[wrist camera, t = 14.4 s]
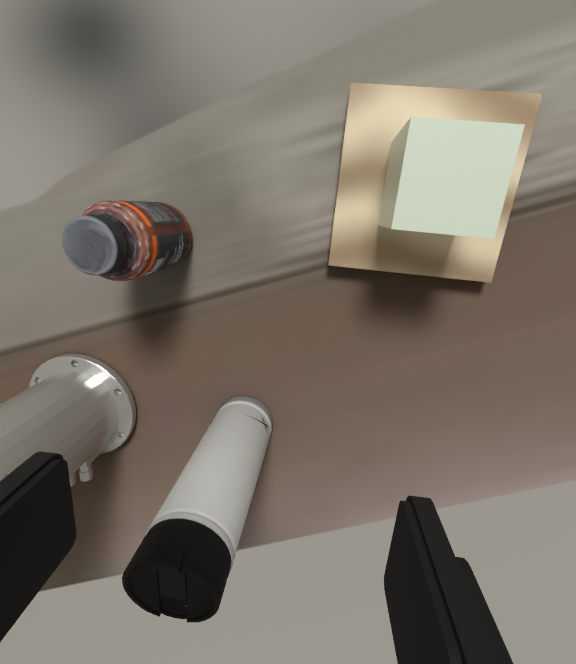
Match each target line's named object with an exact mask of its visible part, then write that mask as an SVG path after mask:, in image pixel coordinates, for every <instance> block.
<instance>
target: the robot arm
mask: <svg viewBox="0 0 576 664" xmlns="http://www.w3.org/2000/svg"><path fill="white" fill-rule="evenodd" d="M135 422H136V406H135V402H134V398H133V396H132V394H131V391H130V389H129V388H128V386H127V385H126V383H125V382H124V380H123V379H122V378H121V377H120V376H119V375H118V374H117V373H116V372H115V371H114V370H113V369H112V368H110V367H109V366H108V365H106V364H105V363H103V362H101V361H99V360H97V359H95V358H92V357H89V356H86V355H81V354H64V355H59V356H56V357H54V358H52V359H50V360H48V361H46V362H45V363H43V364H42V365H40V366H39V368H38V369H37V370H36V371H35V372H34V374H33V376H32V378H31V381H30V385H29V388H28V389H26V390H24V391H22V392H21V393H19V394H17V395H15V396H14V397H12V398H10V399H8V400H7V401H5V402H3V403H1V404H0V642H1V640H2V639H3V637H4V636H5V635H6V634H7V632H8V631H9V630H10V628H11V627H12V626H13V625H14V623H15V622H16V620H17V619H18V618H19V617H20V615H21V614H22V613H23V611H24V610H25V609H26V607H27V606H28V605H29V603H30V602H31V601H32V600H33V598H34V597H35V596H36V594H37V593H38V592H39V590H40V589H41V588H42V586H43V585H44V584H45V582H46V581H47V580H48V578H49V577H50V576H51V575H52V573H53V572H54V571H55V569H56V568H57V567H58V565H59V564H60V563H61V561H62V560H63V559H64V557H65V556H66V555H67V553H68V552H69V551H70V549H71V548H72V546H73V544H74V542H75V539H76V526H75V518H74V510H73V502H72V494H71V486H73V485H74V484H75V483H76V482H77V477H76V470H77V469H78V468H79V475H80V480H81V481H82V482H86V481H89V480H91V479H92V478H93V468H92V465H91V463H92V462H93V461H94V460H95V459H96V457H97V456H98V455H99V454H102V453H107V452H110V451H113V450H115V449H116V448H118V447H119V446H121V445H122V444H123V443H124V442H125V441H126V440H127V438H128V437H129V436H130V434H131V433H132V431H133V428H134V426H135ZM384 589H385V595H386V601H387V606H388V612H389V617H390V623H391V628H392V634H393V640H394V645H395V651H396V656H397V661H398V664H513V662H512V660H511V657H510V655H509V653H508V651H507V648H506V646H505V644H504V642H503V639H502V637H501V635H500V632H499V630H498V628H497V626H496V623H495V621H494V619H493V617H492V614H491V612H490V610H489V608H488V605H487V603H486V601H485V598H484V596H483V594H482V592H481V589H480V587H479V585H478V583H477V580H476V578H475V576H474V574H473V571H472V569H471V567H470V566H469V563H468V562H467V561H466V560H465V559H464V558H460V557H455V555H454V553H453V550H452V548H451V545H450V543H449V540H448V538H447V536H446V533H445V531H444V528H443V526H442V523H441V521H440V518H439V516H438V514H437V511H436V509H435V506H434V504H433V502H432V500H431V499H430V498H424V497H416V496H408V497H407V499H406V501H400V503H399V507H398V512H397V517H396V521H395V527H394V531H393V536H392V541H391V546H390V550H389V555H388V560H387V565H386V570H385V575H384Z"/></svg>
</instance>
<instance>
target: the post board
mask: <svg viewBox="0 0 576 664" xmlns="http://www.w3.org/2000/svg"><path fill="white" fill-rule="evenodd" d="M542 95H543V94H532V93H515V92H499V91H482V90H465V89H448V88H432V87H415V86H398V85H381V84H365V83H351V86H350V94H349V102H348V110H347V118H346V126H345V134H344V143H343V151H342V159H341V167H340V175H339V183H338V191H337V199H336V207H335V215H334V223H333V232H332V240H331V248H330V256H329V264H328V265H330V266H339V267H349V268H358V269H368V270H377V271H386V272H396V273H405V274H415V275H424V276H433V277H443V278H452V279H462V280H471V281H480V282H490V283H491V281H492V278H493V274H494V270H495V267H496V263H497V259H498V256H499V252H500V248H501V245H502V241H503V237H504V234H505V230H506V226H507V223H508V219H509V215H510V212H511V208H512V205H513V201H514V197H515V194H516V190H517V186H518V183H519V179H520V175H521V172H522V168H523V164H524V161H525V157H526V153H527V150H528V146H529V142H530V139H531V135H532V131H533V128H534V124H535V120H536V117H537V113H538V109H539V106H540V102H541V99H542ZM410 117H425V118H440V119H454V120H469V121H483V122H497V123H512V124H525V126H524V130H523V134H522V138H521V141H520V145H519V149H518V153H517V156H516V160H515V164H514V168H513V171H512V175H511V179H510V182H509V186H508V190H507V194H506V197H505V201H504V205H503V209H502V212H501V216H500V220H499V224H498V227H497V231H496V235H495V238H494V239H488V238H478V237H468V236H457V235H447V234H437V233H427V232H416V231H406V230H396V229H389V228H386V227H382V226H379V225H378V222H379V216H380V210H381V204H382V197H383V191H384V185H385V179H386V173H387V167H388V161H389V155H390V149H391V143H392V140H393V139H394V138H395V137H396V135H397V134H398V133H399V131H400V130H401V129H402V128H403V126H404V125H405V124H406V122H407V121H408V120H409V119H410Z"/></svg>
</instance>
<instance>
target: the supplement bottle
mask: <svg viewBox="0 0 576 664" xmlns="http://www.w3.org/2000/svg"><path fill="white" fill-rule="evenodd" d="M191 243H192V234H191V229H190V226H189V224H188V222H187V219H186V218H185V217H184V215H183V214H182V213H181V212H180V211H179V210H177V209H176V208H175V207H173V206H171V205H169V204H165V203H160V202H138V201H102V202H98V203H95V204H93V205H91V206H89V207H88V208H87V209H86V210H85V211H84V212H83V213H82V214H81V216H78V217H75V218H73V219H71V220H70V221H69V222H68V224H67V225H66V226H65V229H64V231H63V235H62V244H63V248H64V251H65V254H66V256H67V258H68V259H69V261H70V262H71V263H72V264H73V265H74V266H75V267H76V268H77V269H78V270H80V271H82V272H84V273H86V274H89V275H100V276H101V277H104V278H106V279H109V280H113V281H127V280H132V279H135V278H138V277H141V276H144V275H147V274H150V273H153V272H156V271H158V270H161V269H164V268H167V267H170V266H173V265H175V264H177V263H179V262H181V261H182V260H183V259H184V258H185V257H186V255H187V254H188V252H189V250H190V247H191Z"/></svg>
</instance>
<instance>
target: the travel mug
mask: <svg viewBox="0 0 576 664" xmlns="http://www.w3.org/2000/svg"><path fill="white" fill-rule="evenodd" d="M272 428H273V420H272V416H271V414H270V412H269V410H268V409H267V407H266V406H265V405H264V404H262V403H261V402H260V401H258V400H256V399H254V398H251V397H246V396H239V397H234V398H231V399H229V400H227V401H226V402H225V403H224V404H223V405H222V406H221V408H220V409H219V411H218V413H217V415H216V416H215V418H214V419H213V421H212V423H211V425H210V426H209V428H208V430H207V431H206V433H205V435H204V436H203V438H202V440H201V441H200V443H199V445H198V446H197V448H196V450H195V451H194V453H193V455H192V456H191V458H190V460H189V462H188V463H187V465H186V467H185V468H184V470H183V472H182V473H181V475H180V477H179V478H178V480H177V482H176V483H175V485H174V487H173V488H172V490H171V492H170V494H169V495H168V497H167V499H166V500H165V502H164V504H163V505H162V507H161V509H160V510H159V512H158V514H157V515H156V517H155V519H154V520H153V522H152V525H151V526H150V527H149V529H148V531H147V532H146V535H145V537H144V539H143V541H142V543H141V545H140V546H139V547H138V549H137V551H136V552H135V554H134V556H133V558H132V559H131V561H130V563H129V564H128V566H127V568H126V569H125V571H124V573H123V577H122V581H123V587H124V589H125V591H126V593H127V594H128V596H129V597H130V598H131V599H132V600H133V602H135V603H136V604H137V605H139V606H140V607H141V608H142V609H144V610H146V611H147V612H150V613H152V614H154V615H157V616H160V614H161V613H162V614H164V615H166V616H170V617H173V618H180V619H187V622H201V621H204V620H207V619H209V618H211V617H212V616H213V615H214V614H215V613H216V612H217V610H218V608H219V605H220V602H221V599H222V595H223V592H224V588H225V585H226V580H227V578H228V575H229V572H230V570H231V568H232V564H233V560H234V558H235V554H236V551H237V547H238V544H239V541H240V537H241V534H242V530H243V527H244V524H245V520H246V517H247V513H248V510H249V507H250V503H251V500H252V497H253V493H254V490H255V486H256V483H257V480H258V476H259V473H260V469H261V466H262V463H263V459H264V456H265V452H266V449H267V446H268V442H269V439H270V435H271V432H272Z"/></svg>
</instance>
